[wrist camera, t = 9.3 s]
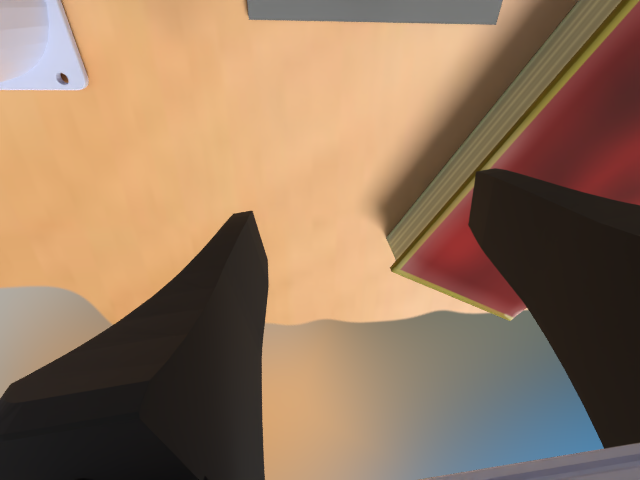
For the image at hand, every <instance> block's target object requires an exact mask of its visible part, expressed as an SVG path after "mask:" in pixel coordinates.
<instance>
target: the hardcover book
mask: <svg viewBox="0 0 640 480" xmlns="http://www.w3.org/2000/svg"><path fill="white" fill-rule="evenodd" d="M493 168H498V169H503V170H508V171H512V172H515V173H519V174H523V175H526V176H530V177H533V178H536V179H540V180H543V181H546V182H550V183H553V184H556V185H560V186H563V187H567V188H570V189H574V190H577V191H581V192H584V193H588V194H592V195H596V196H600V197H604V198H608V199H612V200H617V201H621V202H626V203H631V204H636V205H640V0H579V1H578V2H577V3H576V4H575V6H574V7H573V8H572V9H571V11H570V12H569V13H568V14H567V16H566V17H565V18H564V19H563V21H562V22H561V23H560V24H559V25H558V27H557V28H556V29H555V30H554V32H553V33H552V34H551V35H550V37H549V38H548V39H547V40H546V41H545V43H544V44H543V45H542V46H541V48H540V49H539V50H538V51H537V53H536V54H535V55H534V56H533V58H532V59H531V60H530V61H529V62H528V64H527V65H526V66H525V67H524V69H523V70H522V71H521V72H520V74H519V75H518V76H517V77H516V78H515V80H514V81H513V82H512V83H511V85H510V86H509V87H508V88H507V90H506V91H505V92H504V93H503V95H502V96H501V97H500V98H499V99H498V101H497V102H496V103H495V104H494V106H493V107H492V108H491V109H490V111H489V112H488V113H487V114H486V115H485V117H484V118H483V119H482V120H481V122H480V123H479V124H478V125H477V127H476V128H475V129H474V130H473V132H472V133H471V134H470V135H469V136H468V138H467V139H466V140H465V141H464V143H463V144H462V145H461V146H460V148H459V149H458V150H457V151H456V152H455V154H454V155H453V156H452V157H451V159H450V160H449V161H448V162H447V164H446V165H445V166H444V167H443V169H442V170H441V171H440V172H439V173H438V175H437V176H436V177H435V178H434V180H433V181H432V182H431V183H430V185H429V186H428V187H427V188H426V189H425V191H424V192H423V193H422V194H421V196H420V197H419V198H418V199H417V201H416V202H415V203H414V204H413V206H412V207H411V208H410V209H409V210H408V212H407V213H406V214H405V215H404V217H403V218H402V219H401V220H400V222H399V223H398V224H397V225H396V226H395V228H394V229H393V230H392V231H391V233H390V234H389V235H388V236H387V238H386V239H387V241H388V243H389V245H390V248H391V250H392V252H393V254H394V257H395V259H396V261H395V263H394V264H393V265H392V266H391V267H390V269H391V271H392V272H394V273H396V274H399V275H401V276H403V277H406V278H408V279H411V280H413V281H415V282H418V283H420V284H423V285H425V286H427V287H430V288H432V289H435V290H437V291H439V292H442V293H444V294H447V295H449V296H451V297H454V298H456V299H459V300H461V301H463V302H466V303H468V304H471V305H473V306H475V307H478V308H480V309H483V310H485V311H487V312H490V313H492V314H495V315H497V316H499V317H502V318H504V319H507V320H509V321H510V320H512V319H513V318H514V317H515V316H517V315H518V314H519V313H520V312H522V311H523V310H524V309H525V308H527V307H526V305H525V304H524V303H523V301H522V300H521V299H520V297H519V296H518V295H517V294H516V292H515V291H514V290H513V289H512V287H511V286H510V285H509V284H508V282H507V281H506V280H505V279H504V277H503V276H502V275H501V274H500V272H499V271H498V270H497V268H496V267H495V266H494V265H493V263H492V262H491V261H490V260H489V258H488V257H487V256H486V254H485V253H484V252H483V250H482V249H481V247H480V246H479V244H478V242H477V241H476V239H475V237H474V235H473V233H472V231H471V229H470V227H469V226H468V223H469V216H470V209H471V202H472V196H473V189H474V182H475V175H476V171H482V170H488V169H493Z"/></svg>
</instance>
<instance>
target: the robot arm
mask: <svg viewBox="0 0 640 480" xmlns="http://www.w3.org/2000/svg"><path fill="white" fill-rule="evenodd" d="M61 73H63V74H65V75H66V76H67V78H68V80H69V83H66V82H64V81H63V80H62V78H61ZM88 83H89V80H88V76H87V73H86V70H85V68H84V65H83V62H82V59H81V56H80V53H79V51H78V48H77V45H76V42H75V39H74V37H73V34H72V31H71V28H70V25H69V22H68V20H67V17H66V14H65V11H64V8H63V5H62V3H61V0H0V90H81V89H84V88H86V87H87V86H88ZM468 226H469V227H470V229H471V231H472V233H473V235H474V237H475V239H476V241H477V242H478V244H479V246H480V247H481V249H482V250H483V252H484V253H485V254H486V256H487V257H488V258H489V260H490V261H491V262H492V263H493V265H494V266H495V267H496V268H497V270H498V271H499V272H500V274H501V275H502V276H503V277H504V279H505V280H506V281H507V282H508V284H509V285H510V286H511V287H512V289H513V290H514V291H515V292H516V294H517V295H518V296H519V297H520V299H521V300H522V301H523V303H524V304H525V305H526V307H527V308H528V310H529V311H530V312H531V314H532V316H533V317H534V319H535V320H536V322H537V324H538V325H539V327H540V328H541V330H542V332H543V333H544V335H545V336H546V338H547V340H548V341H549V343H550V345H551V346H552V348H553V350H554V352H555V354H556V355H557V357H558V359H559V360H560V362H561V364H562V366H563V367H564V369H565V371H566V373H567V375H568V377H569V379H570V380H571V382H572V384H573V386H574V388H575V390H576V392H577V393H578V396H579V397H580V399H581V401H582V403H583V405H584V407H585V409H586V411H587V413H588V415H589V417H590V420H591V421H592V424H593V426H594V428H595V430H596V432H597V434H598V436H599V438H600V440H601V442H602V444H603V447H604V449H600V450H594V451H588V452H582V453H576V454H570V455H563V456H557V457H551V458H546V459H539V460H534V461H528V462H521V463H515V464H509V465H503V466H497V467H491V468H486V469H479V470H473V471H468V472H461V473H456V474H450V475H443V476H438V477H431V478H425V479H419V480H640V205H636V204H631V203H626V202H621V201H617V200H612V199H608V198H604V197H600V196H596V195H592V194H588V193H584V192H581V191H577V190H574V189H570V188H567V187H563V186H560V185H556V184H553V183H550V182H546V181H543V180H540V179H536V178H533V177H530V176H526V175H523V174H519V173H515V172H512V171H508V170H503V169H498V168H493V169H488V170H482V171H476V175H475V182H474V189H473V196H472V202H471V209H470V216H469V223H468ZM267 296H268V259H267V256H266V253H265V250H264V247H263V243H262V240H261V237H260V234H259V231H258V227H257V224H256V221H255V218H254V215H253V211H247V212H241V213H235V214H233V215H232V216H231V217H230V218H229V219H228V220H227V221H226V223H225V224H224V225H223V226H222V227H221V229H220V230H219V231H218V232H217V233H216V234H215V236H214V237H213V238H212V239H211V240H210V241H209V243H208V244H207V245H206V246H205V247H204V248H203V249H202V250H201V252H200V253H199V254H198V255H197V256H196V257H195V258H194V259H193V260H192V261H191V262H190V263H189V264H188V265H187V266H186V267H185V268H184V269H183V270H182V271H181V272H180V273H179V274H178V275H177V276H176V277H175V278H174V279H172V280H171V281H170V282H169V283H168V284H167V285H166V286H164V287H163V288H162V289H161V290H160V291H159V292H157V293H156V294H155V295H154V296H152V297H151V298H150V299H149V300H147V301H146V302H144V303H143V304H142V305H140V306H139V307H138V308H136V309H135V310H134V311H132V312H131V313H130V314H128V315H127V316H126V317H124V318H123V319H121V320H120V321H119V322H117V323H116V324H114V325H113V326H111V327H110V328H108V329H106V330H105V331H103V332H102V333H100V334H99V335H97V336H96V337H94V338H92V339H91V340H89V341H87V342H86V343H84V344H83V345H81V346H79V347H78V348H76V349H74V350H72V351H71V352H69V353H67V354H66V355H64V356H62V357H60V358H58V359H56V360H55V361H53V362H51V363H49V364H47V365H46V366H44V367H42V368H40V369H38V370H36V371H35V372H33V373H31V374H29V375H27V376H26V377H24V378H22V379H20V380H18V381H16V382H14V383H12V384H11V385H10V386H9V387H8V389H7V390H6V391H5V393H4V394H3V396H2V397H1V398H0V480H265V476H264V457H263V456H264V455H263V427H262V374H261V373H262V343H263V333H264V325H265V315H266V306H267Z"/></svg>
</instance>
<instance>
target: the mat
mask: <svg viewBox="0 0 640 480" xmlns="http://www.w3.org/2000/svg"><path fill="white" fill-rule="evenodd" d="M502 1H503V0H247V3H248V15H249V20H295V21H344V22H393V23H441V24H490V25H496V22H497V19H498V15H499V12H500V8H501V4H502Z"/></svg>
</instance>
